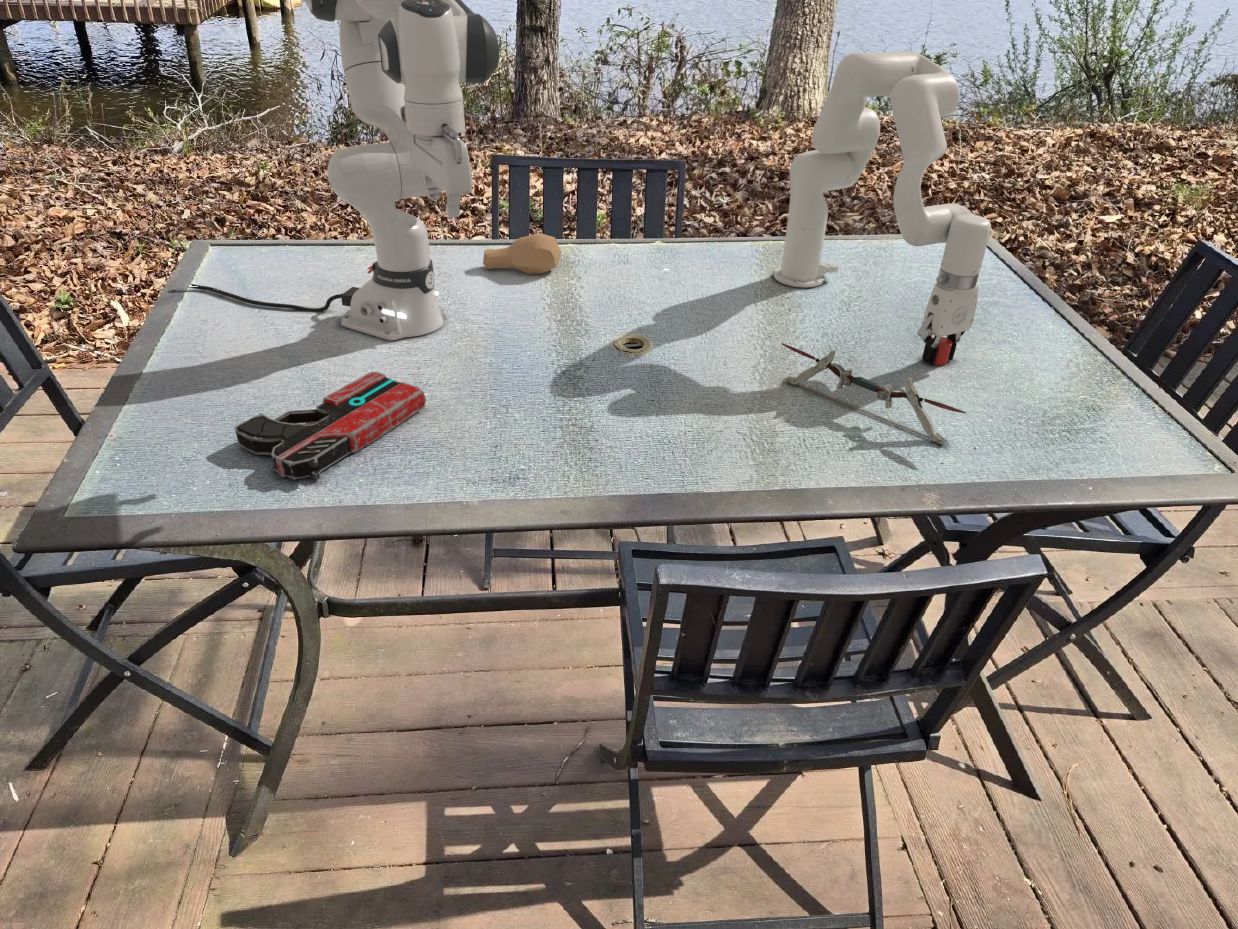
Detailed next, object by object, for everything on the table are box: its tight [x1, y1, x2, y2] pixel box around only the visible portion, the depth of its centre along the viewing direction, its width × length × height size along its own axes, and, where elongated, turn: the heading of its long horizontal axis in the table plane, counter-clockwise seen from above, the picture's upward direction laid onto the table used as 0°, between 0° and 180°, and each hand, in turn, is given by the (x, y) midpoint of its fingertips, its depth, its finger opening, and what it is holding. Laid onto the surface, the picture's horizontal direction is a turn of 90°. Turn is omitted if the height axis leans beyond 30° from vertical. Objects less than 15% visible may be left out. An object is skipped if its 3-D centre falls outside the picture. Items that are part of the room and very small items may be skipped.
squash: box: [482, 232, 562, 275], centre depth 222 cm, size 11×20×9 cm, turn 90°
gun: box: [234, 371, 427, 481], centre depth 156 cm, size 4×31×19 cm
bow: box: [780, 342, 967, 445], centre depth 165 cm, size 39×2×10 cm, turn 47°
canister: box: [932, 336, 952, 366], centre depth 186 cm, size 4×4×5 cm
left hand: (443, 207), depth 143 cm, fingers open, 8 cm apart
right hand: (937, 358), depth 187 cm, fingers closed on canister, 4 cm apart
